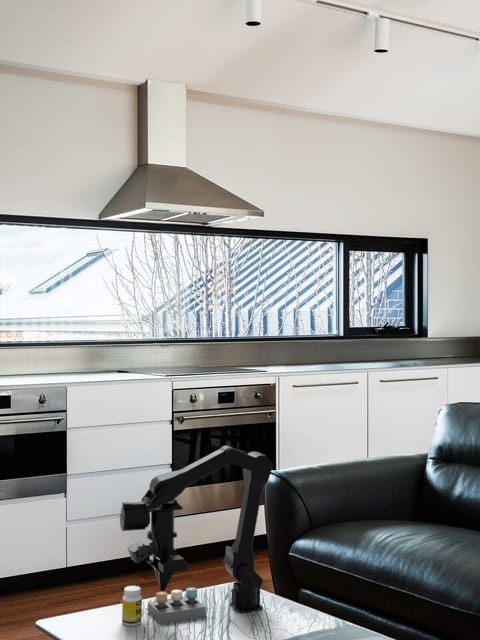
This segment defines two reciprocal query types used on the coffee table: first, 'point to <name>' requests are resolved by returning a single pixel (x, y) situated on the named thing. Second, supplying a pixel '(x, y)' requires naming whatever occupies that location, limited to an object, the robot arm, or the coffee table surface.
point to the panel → (176, 610)
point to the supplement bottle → (132, 606)
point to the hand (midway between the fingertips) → (162, 590)
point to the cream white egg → (176, 597)
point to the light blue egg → (191, 595)
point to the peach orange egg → (161, 599)
